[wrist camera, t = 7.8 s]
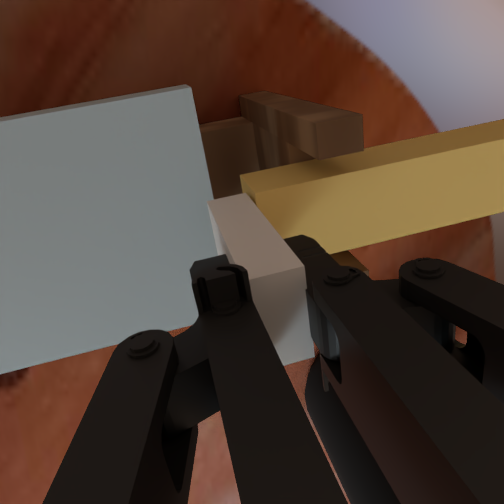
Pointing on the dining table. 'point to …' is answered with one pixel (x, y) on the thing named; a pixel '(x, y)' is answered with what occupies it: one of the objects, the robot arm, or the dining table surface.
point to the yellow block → (385, 188)
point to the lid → (100, 223)
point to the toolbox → (278, 142)
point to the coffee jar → (345, 444)
